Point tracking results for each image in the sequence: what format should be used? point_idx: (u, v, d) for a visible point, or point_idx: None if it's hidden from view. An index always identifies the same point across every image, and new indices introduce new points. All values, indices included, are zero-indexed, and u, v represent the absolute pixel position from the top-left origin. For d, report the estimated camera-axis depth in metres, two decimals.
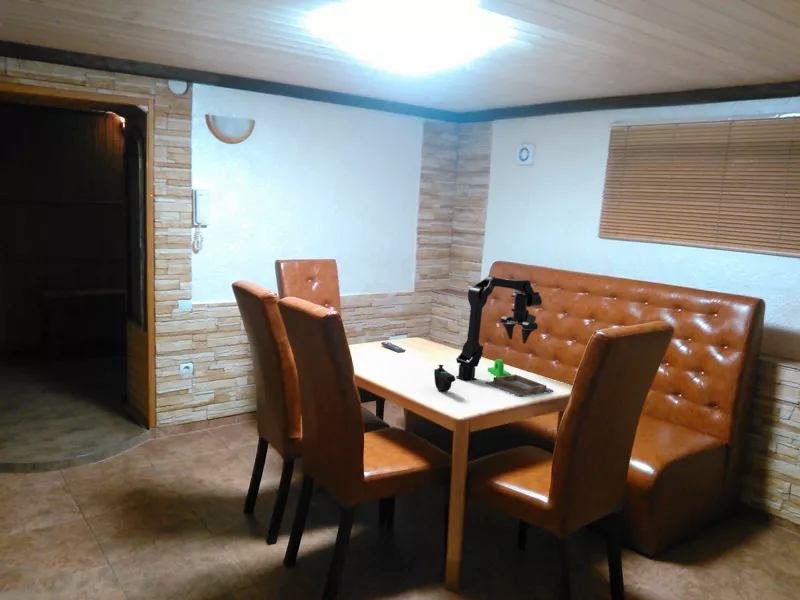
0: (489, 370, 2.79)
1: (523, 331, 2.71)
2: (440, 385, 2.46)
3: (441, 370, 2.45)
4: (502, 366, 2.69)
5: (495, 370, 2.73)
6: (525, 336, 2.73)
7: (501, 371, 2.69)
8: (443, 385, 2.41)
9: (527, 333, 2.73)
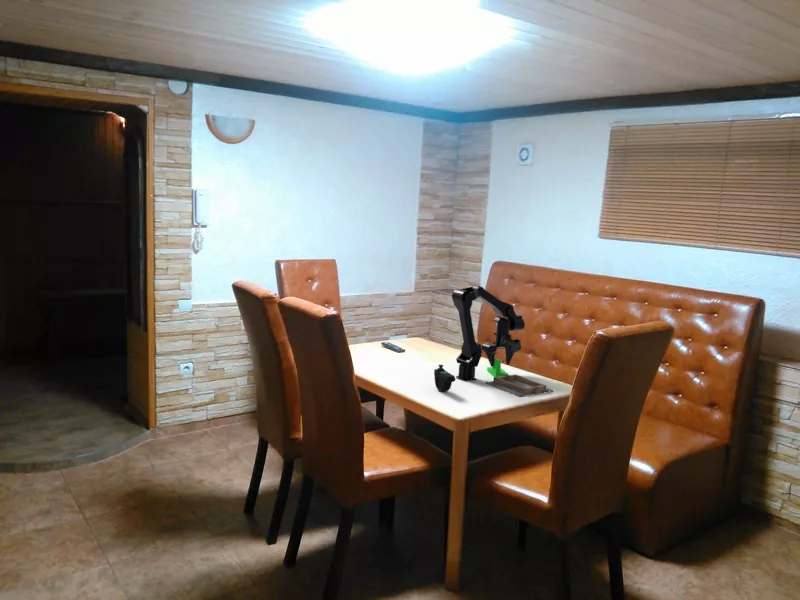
0: (488, 370, 2.79)
1: None
2: (440, 385, 2.46)
3: (441, 370, 2.45)
4: (499, 366, 2.69)
5: (493, 370, 2.73)
6: (489, 358, 2.72)
7: (498, 371, 2.69)
8: (443, 385, 2.41)
9: (490, 356, 2.71)
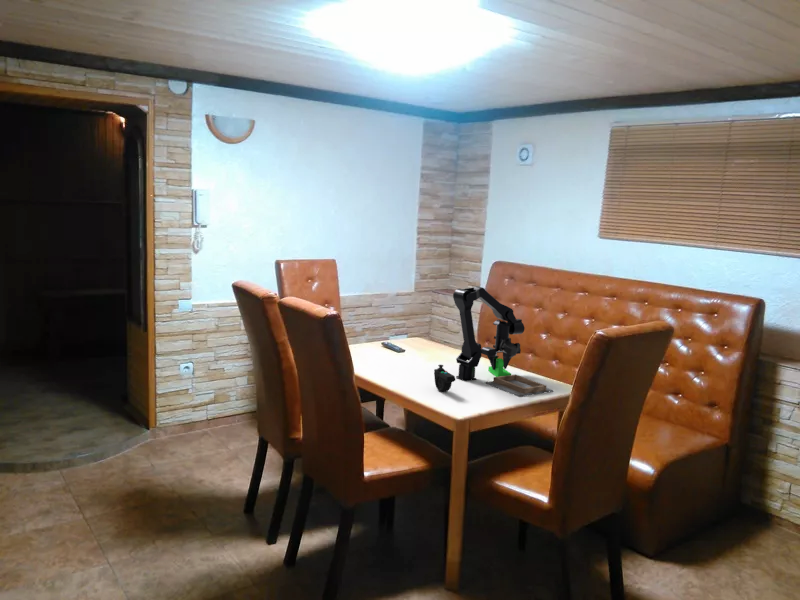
0: (490, 369, 2.79)
1: None
2: (440, 385, 2.46)
3: (441, 370, 2.45)
4: (502, 365, 2.69)
5: (495, 369, 2.73)
6: (491, 362, 2.73)
7: (501, 370, 2.70)
8: (443, 385, 2.41)
9: (492, 359, 2.72)
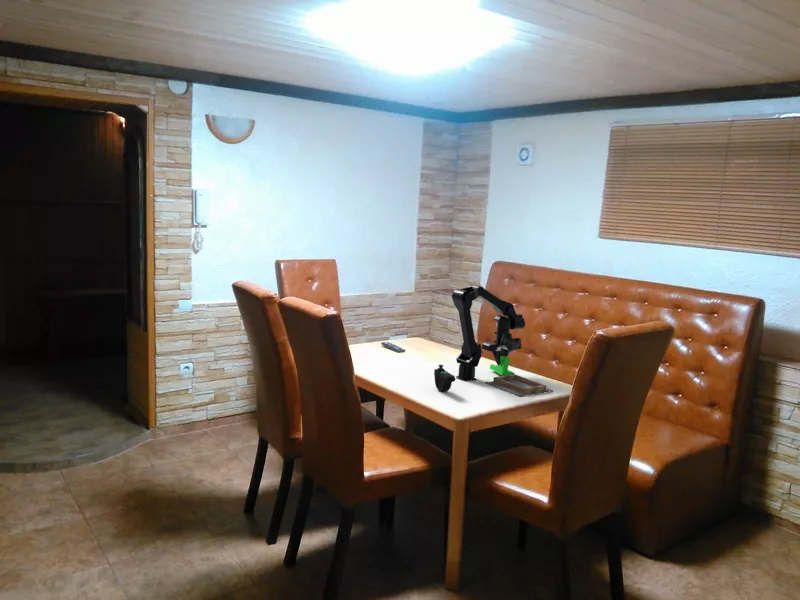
0: (492, 367, 2.79)
1: None
2: (440, 385, 2.46)
3: (441, 370, 2.45)
4: (507, 363, 2.70)
5: (499, 366, 2.73)
6: (495, 357, 2.74)
7: (506, 368, 2.70)
8: (443, 385, 2.41)
9: (497, 354, 2.73)
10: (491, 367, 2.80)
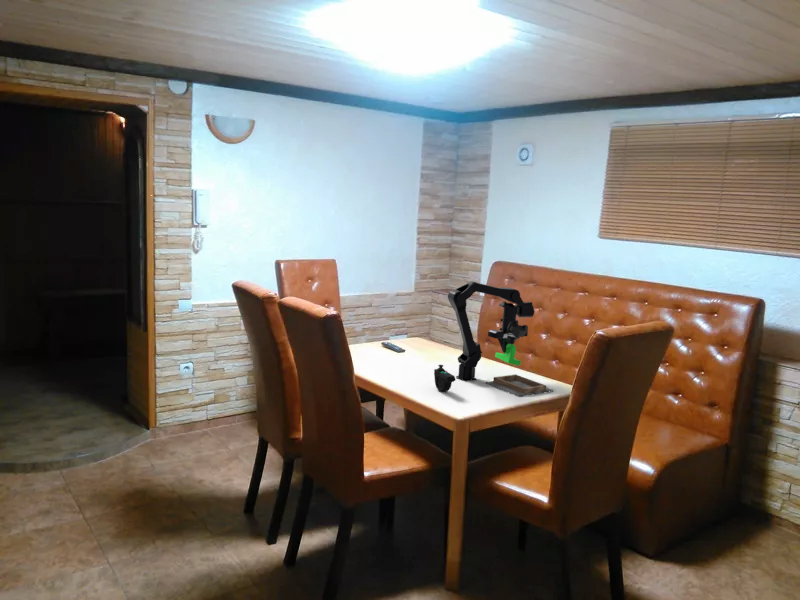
0: (497, 355, 2.73)
1: None
2: (440, 385, 2.46)
3: (441, 370, 2.45)
4: (514, 351, 2.64)
5: (505, 354, 2.67)
6: (501, 344, 2.68)
7: (512, 356, 2.64)
8: (443, 385, 2.41)
9: (503, 342, 2.67)
10: (496, 355, 2.74)
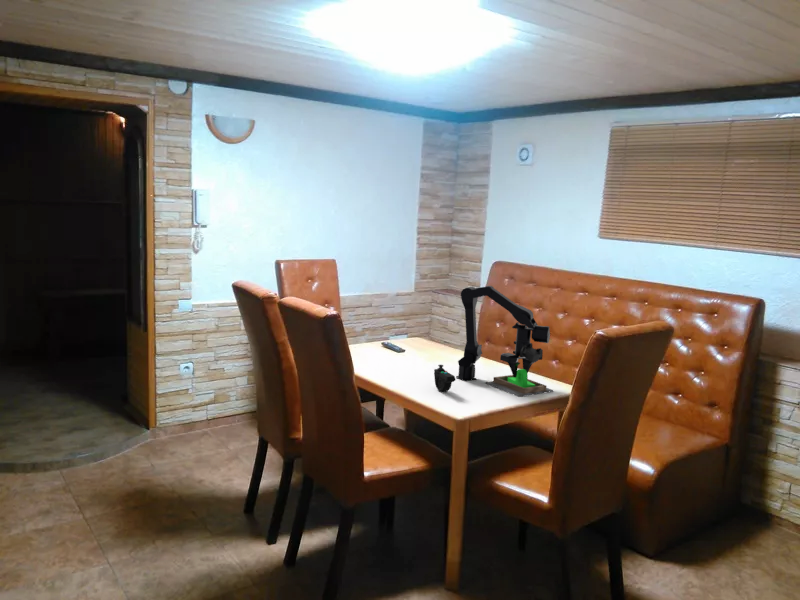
0: (509, 380, 2.60)
1: None
2: (440, 385, 2.46)
3: (441, 370, 2.45)
4: (526, 376, 2.51)
5: (517, 381, 2.54)
6: (512, 368, 2.54)
7: (525, 382, 2.51)
8: (443, 385, 2.41)
9: (513, 366, 2.53)
10: (509, 381, 2.61)
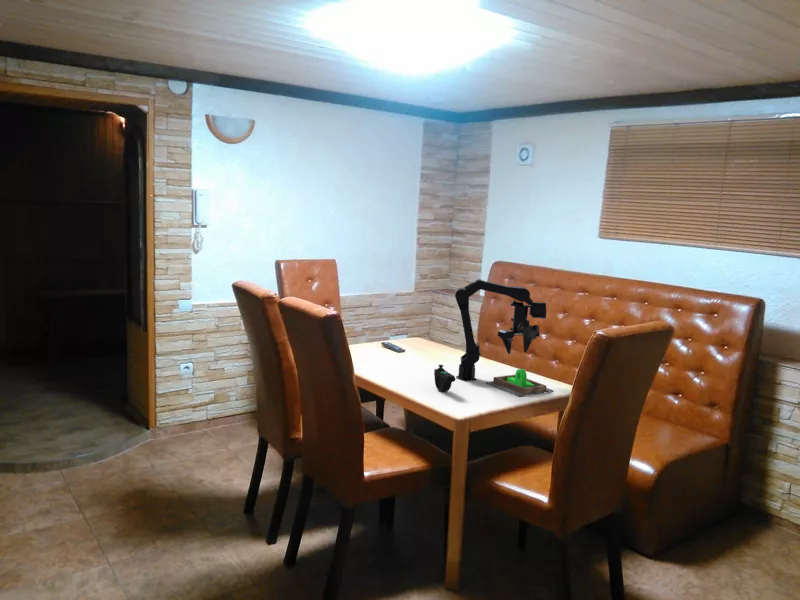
0: (509, 380, 2.60)
1: None
2: (440, 385, 2.46)
3: (441, 370, 2.45)
4: (525, 376, 2.51)
5: (517, 380, 2.54)
6: (506, 345, 2.60)
7: (524, 382, 2.51)
8: (443, 385, 2.41)
9: (507, 342, 2.59)
10: (508, 381, 2.61)
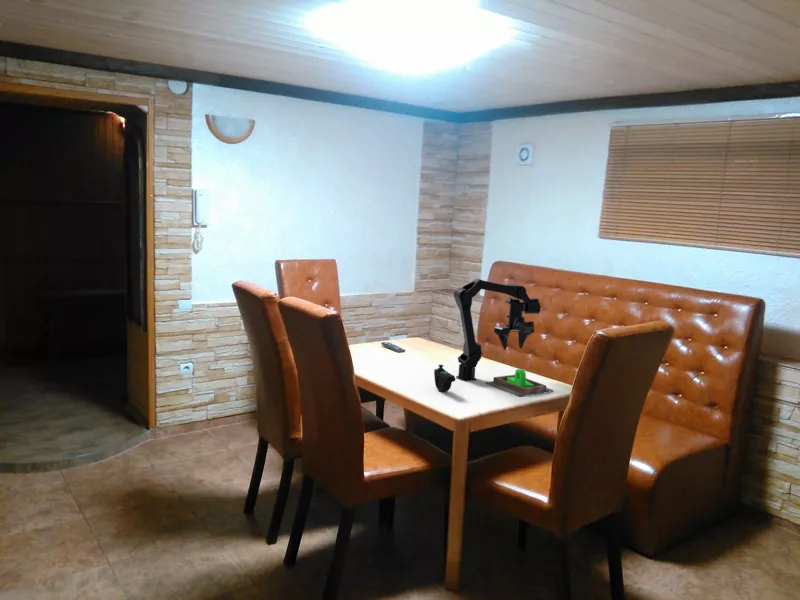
0: (509, 380, 2.60)
1: None
2: (440, 385, 2.46)
3: (441, 370, 2.45)
4: (524, 376, 2.51)
5: (516, 380, 2.54)
6: (502, 341, 2.67)
7: (523, 382, 2.51)
8: (443, 385, 2.41)
9: (503, 339, 2.66)
10: (508, 381, 2.61)
